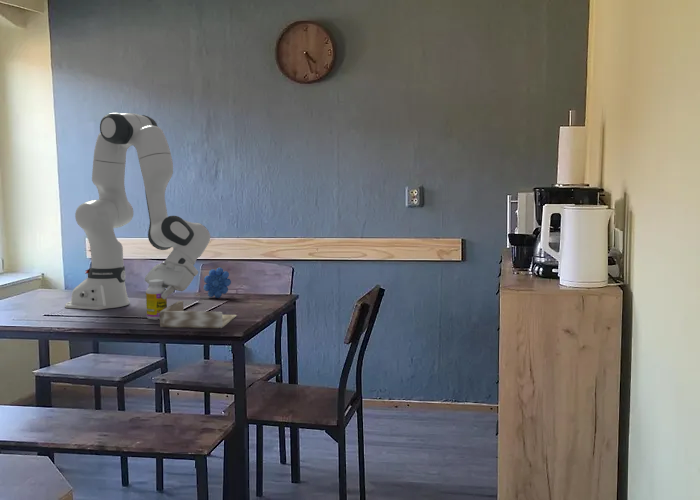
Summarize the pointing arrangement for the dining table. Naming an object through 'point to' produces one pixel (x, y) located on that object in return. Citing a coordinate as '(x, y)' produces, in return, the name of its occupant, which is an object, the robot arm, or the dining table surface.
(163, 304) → the supplement bottle
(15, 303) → the dining table surface
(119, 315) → the dining table surface
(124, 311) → the dining table surface
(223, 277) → the blue flower shape
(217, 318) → the tray
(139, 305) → the dining table surface
